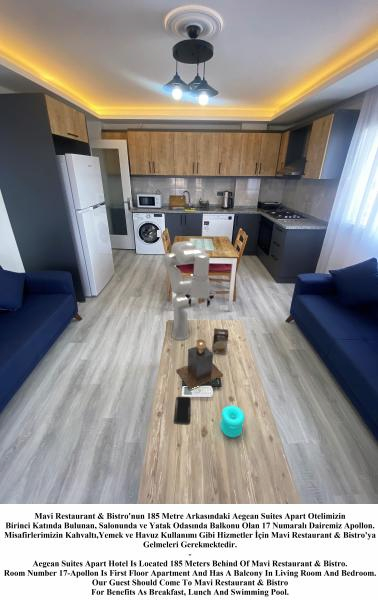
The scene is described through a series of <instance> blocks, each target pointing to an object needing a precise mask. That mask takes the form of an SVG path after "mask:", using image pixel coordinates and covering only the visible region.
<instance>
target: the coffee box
mask: <svg viewBox="0 0 378 600" xmlns="http://www.w3.org/2000/svg"><path fill="white" fill-rule="evenodd" d="M228 342H229V329H223V328H213V338H212V346H211V347H212V348H211V352H212V353H213V355H220V356H221V355H222V356H227V349H228V344H229V343H228Z"/></svg>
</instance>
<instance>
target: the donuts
mask: <svg viewBox="0 0 378 600" xmlns="http://www.w3.org/2000/svg"><path fill="white" fill-rule="evenodd" d="M221 418H222V419H221V421H220V425H219V426H220V430H221V432H222V433H223V434H224V435H226V436H227V437H228V438H229V437H230V438H237V437H239V436H240V435H241V434H242V432H243V430H244V429H243V423H244V422H245V419H246V418H245V413H244V411H243V410H242V409H241V408H240V407H238V406H237V405H228V406H226V407H224V408H223V410H222V411H221Z"/></svg>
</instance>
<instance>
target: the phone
mask: <svg viewBox="0 0 378 600" xmlns="http://www.w3.org/2000/svg"><path fill="white" fill-rule="evenodd" d="M191 406H192V398H191V396H177V397H175V405H174V415H173V423H174V424H175V425H190V424H191V419H192V416H191V415H192V414H191V410H192V407H191Z"/></svg>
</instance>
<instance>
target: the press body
mask: <svg viewBox="0 0 378 600" xmlns="http://www.w3.org/2000/svg"><path fill="white" fill-rule="evenodd" d="M187 352H188V353H187V365H186V366H182V367H180V368H177V369H176V370H175V371H176V374H177V375H178V377H179V378H180V379H181V380H182V382H183V381H184V382H185V383H184V382H183V383H184V384H186V385H187V386H188V387H187V386H186V385H185V386H186V387H187V389H188V388H189V389H192V388H194V387H197V386H199V385H202V384H204V383H206V382H208V381H210V380H213V379H216V378H218V379H220V378H222V377H224V373H222V372H221V370H219V369H218V367H217V366H216V365H215V364H214V363H213V361H214V354H213V353H212V350H211V351H210V349H209V348H208V347H207V346H205V351H204V352H202V353H201V354H200V353H199V352H197V351H196V346H194V347H190V348H188V350H187ZM216 380H217V379H216ZM213 381H214V380H213ZM206 384H207V383H206ZM204 385H205V384H204ZM202 386H203V385H202ZM199 387H200V386H199ZM197 388H198V387H197ZM189 389H188V390H189ZM192 390H193V389H192Z"/></svg>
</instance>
